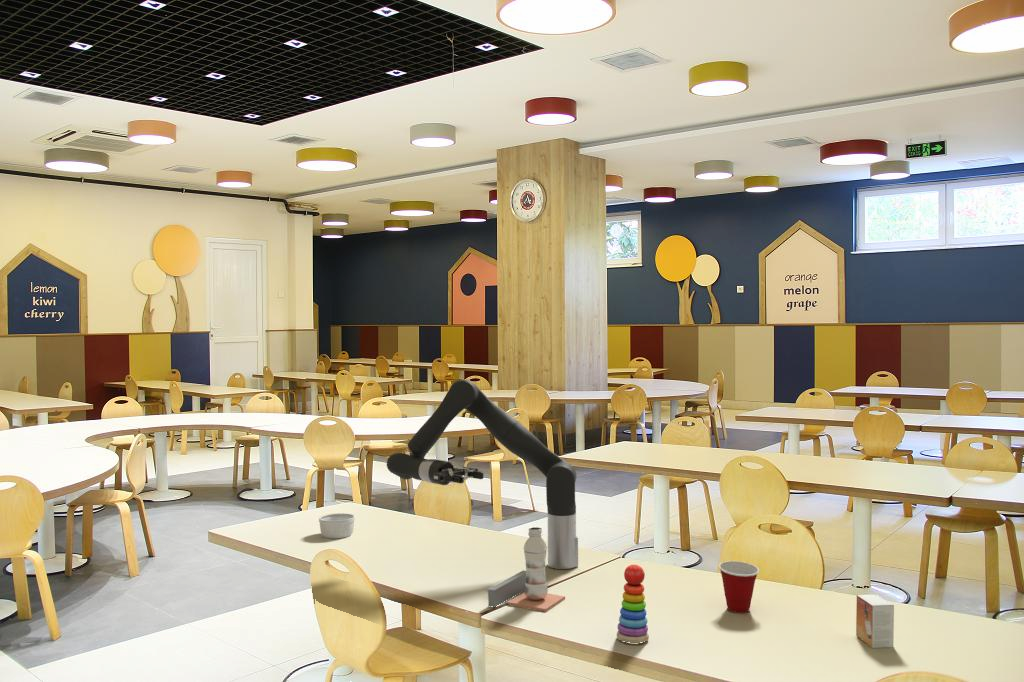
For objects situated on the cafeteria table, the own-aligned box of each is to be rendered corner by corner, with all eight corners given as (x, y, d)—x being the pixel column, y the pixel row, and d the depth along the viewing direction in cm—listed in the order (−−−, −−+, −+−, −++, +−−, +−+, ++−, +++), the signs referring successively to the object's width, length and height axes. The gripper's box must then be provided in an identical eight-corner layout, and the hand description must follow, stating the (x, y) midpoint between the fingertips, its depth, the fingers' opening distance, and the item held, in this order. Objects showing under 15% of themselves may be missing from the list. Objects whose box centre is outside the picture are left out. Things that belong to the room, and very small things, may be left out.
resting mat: (528, 592, 246) (528, 589, 246) (565, 599, 240) (565, 596, 240) (507, 604, 236) (507, 602, 236) (545, 611, 230) (545, 609, 230)
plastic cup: (737, 619, 223) (737, 574, 223) (710, 607, 233) (710, 564, 232) (768, 612, 228) (768, 568, 228) (740, 600, 238) (740, 558, 237)
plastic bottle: (545, 603, 234) (545, 532, 234) (522, 602, 236) (521, 531, 235) (549, 596, 241) (549, 526, 240) (526, 594, 242) (525, 525, 241)
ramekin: (326, 530, 322) (326, 512, 322) (359, 531, 320) (359, 513, 320) (313, 539, 309) (313, 520, 309) (348, 540, 307) (348, 521, 307)
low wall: (523, 586, 252) (523, 570, 251) (529, 587, 251) (529, 571, 250) (488, 606, 234) (488, 589, 234) (494, 608, 233) (494, 590, 233)
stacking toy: (627, 647, 204) (627, 571, 204) (610, 636, 212) (610, 562, 211) (655, 642, 207) (654, 567, 207) (637, 631, 215) (637, 558, 214)
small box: (855, 636, 211) (855, 594, 210) (877, 635, 211) (877, 593, 211) (872, 648, 203) (872, 605, 202) (894, 647, 203) (894, 604, 203)
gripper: (419, 462, 261) (456, 468, 250) (452, 457, 272) (488, 462, 261) (419, 486, 261) (456, 493, 251) (452, 480, 272) (489, 486, 261)
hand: (473, 477), depth 256 cm, fingers open, 8 cm apart
